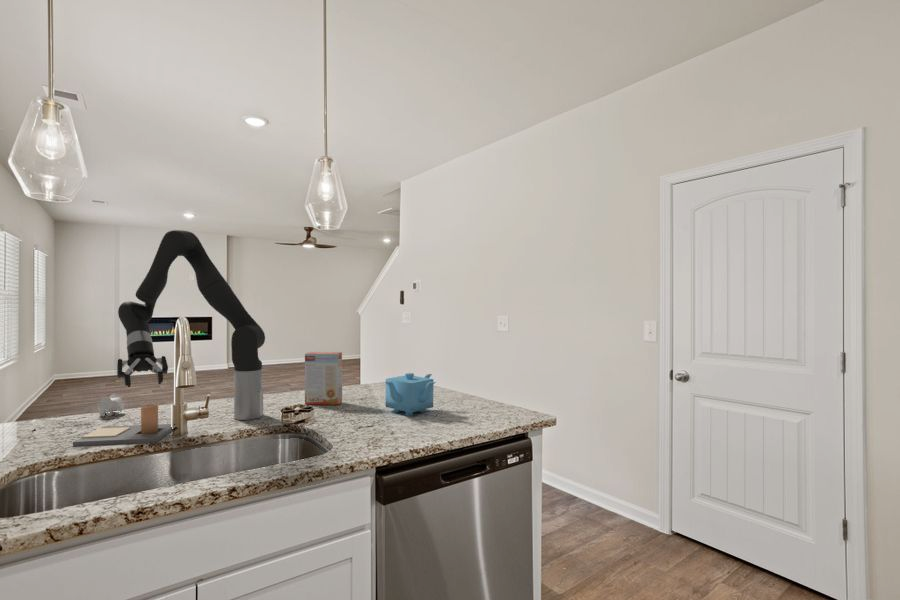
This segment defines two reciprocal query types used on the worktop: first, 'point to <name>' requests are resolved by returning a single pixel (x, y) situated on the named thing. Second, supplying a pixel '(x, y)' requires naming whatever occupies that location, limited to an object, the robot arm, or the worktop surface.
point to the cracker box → (323, 378)
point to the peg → (149, 419)
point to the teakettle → (409, 393)
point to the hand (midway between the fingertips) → (144, 384)
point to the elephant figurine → (110, 405)
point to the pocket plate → (122, 435)
